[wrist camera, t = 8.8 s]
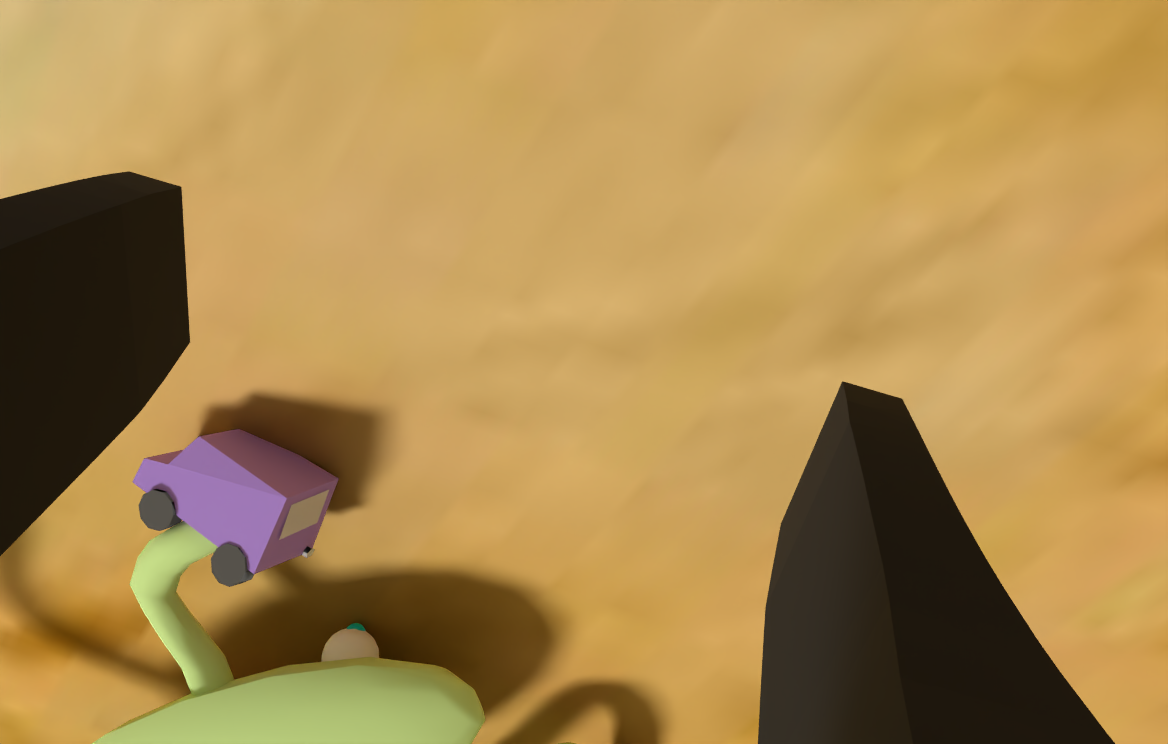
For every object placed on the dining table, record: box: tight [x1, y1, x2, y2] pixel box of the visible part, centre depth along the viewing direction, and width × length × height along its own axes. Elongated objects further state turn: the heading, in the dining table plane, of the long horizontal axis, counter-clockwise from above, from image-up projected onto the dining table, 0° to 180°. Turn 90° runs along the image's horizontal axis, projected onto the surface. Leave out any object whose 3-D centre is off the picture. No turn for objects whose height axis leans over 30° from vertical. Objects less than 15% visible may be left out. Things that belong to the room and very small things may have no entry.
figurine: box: [92, 429, 575, 744], centre depth 31 cm, size 18×27×6 cm
